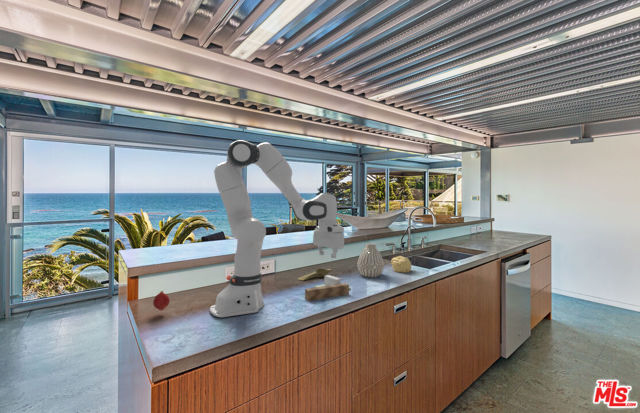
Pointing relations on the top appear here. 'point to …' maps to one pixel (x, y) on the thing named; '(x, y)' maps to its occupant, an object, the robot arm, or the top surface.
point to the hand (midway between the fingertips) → (327, 256)
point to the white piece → (331, 281)
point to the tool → (315, 274)
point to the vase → (370, 262)
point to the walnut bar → (326, 291)
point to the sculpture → (401, 264)
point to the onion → (161, 301)
